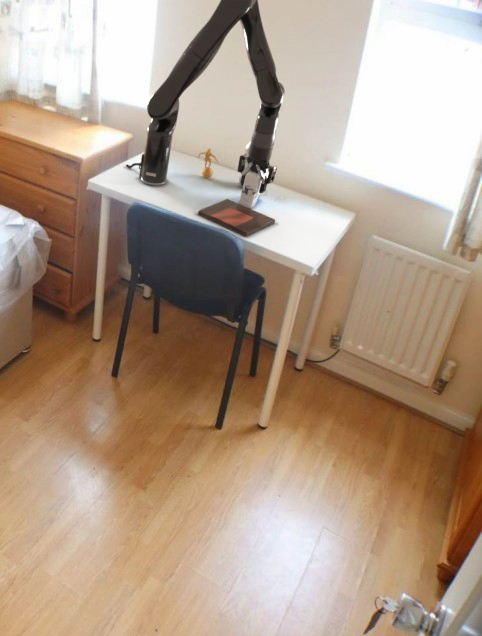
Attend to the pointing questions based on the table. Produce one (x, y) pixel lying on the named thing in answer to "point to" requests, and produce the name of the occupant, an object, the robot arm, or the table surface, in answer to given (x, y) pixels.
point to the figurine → (206, 171)
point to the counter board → (236, 217)
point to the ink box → (250, 189)
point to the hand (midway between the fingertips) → (252, 188)
